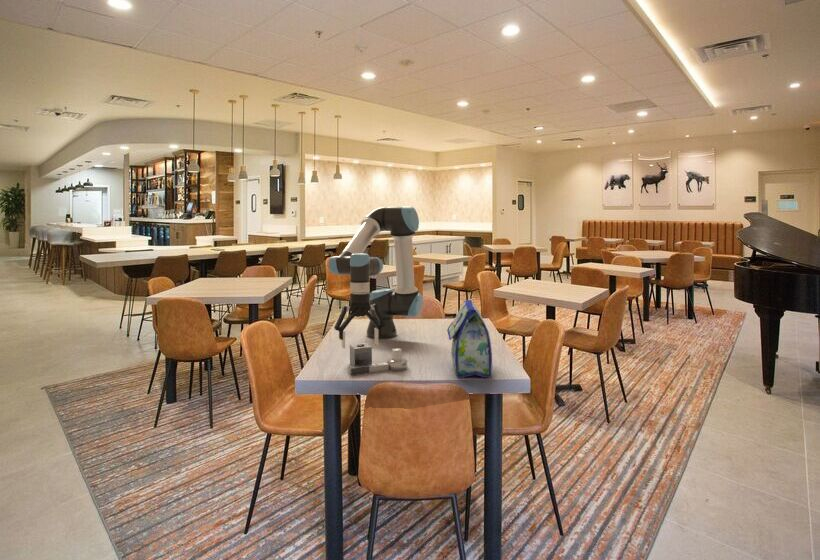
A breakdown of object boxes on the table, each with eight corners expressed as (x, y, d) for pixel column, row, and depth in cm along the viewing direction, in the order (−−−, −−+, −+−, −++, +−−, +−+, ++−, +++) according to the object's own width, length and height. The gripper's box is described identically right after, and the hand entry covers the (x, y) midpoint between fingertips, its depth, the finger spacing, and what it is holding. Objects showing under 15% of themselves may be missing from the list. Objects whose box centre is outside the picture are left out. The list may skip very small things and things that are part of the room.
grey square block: (349, 363, 193) (349, 343, 192) (366, 362, 195) (366, 342, 194) (354, 368, 186) (354, 348, 185) (371, 366, 189) (371, 346, 188)
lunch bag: (446, 361, 196) (447, 298, 193) (487, 362, 195) (488, 298, 192) (449, 379, 174) (450, 308, 171) (495, 379, 173) (496, 308, 170)
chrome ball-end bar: (347, 370, 183) (346, 351, 182) (402, 364, 192) (402, 345, 191) (352, 377, 176) (352, 357, 175) (410, 369, 185) (410, 350, 184)
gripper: (330, 295, 179) (331, 351, 181) (393, 292, 189) (392, 345, 191) (326, 293, 186) (326, 346, 188) (386, 290, 195) (386, 341, 198)
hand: (360, 346), depth 189 cm, fingers open, 13 cm apart
